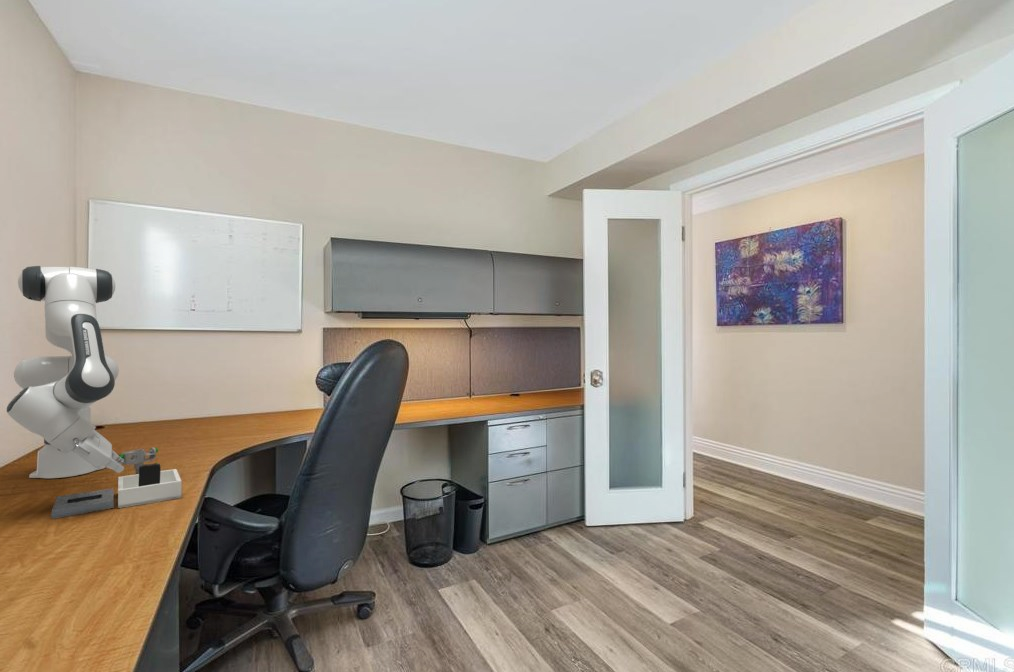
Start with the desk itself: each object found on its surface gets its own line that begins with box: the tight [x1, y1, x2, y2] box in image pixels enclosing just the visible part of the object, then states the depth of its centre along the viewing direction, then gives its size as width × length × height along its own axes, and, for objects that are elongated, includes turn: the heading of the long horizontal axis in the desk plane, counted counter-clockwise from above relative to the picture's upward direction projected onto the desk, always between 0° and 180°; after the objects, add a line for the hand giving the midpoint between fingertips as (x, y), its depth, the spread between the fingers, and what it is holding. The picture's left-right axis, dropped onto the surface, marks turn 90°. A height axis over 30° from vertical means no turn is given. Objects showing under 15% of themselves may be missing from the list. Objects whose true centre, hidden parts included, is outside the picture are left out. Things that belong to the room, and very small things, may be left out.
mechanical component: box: [118, 447, 159, 475], centre depth 152 cm, size 3×10×10 cm, turn 155°
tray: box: [117, 468, 182, 509], centre depth 139 cm, size 16×14×5 cm
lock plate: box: [51, 487, 115, 520], centre depth 131 cm, size 14×12×2 cm
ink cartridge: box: [139, 462, 162, 487], centre depth 140 cm, size 5×2×8 cm, turn 128°
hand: (121, 466), depth 136 cm, fingers open, 8 cm apart
